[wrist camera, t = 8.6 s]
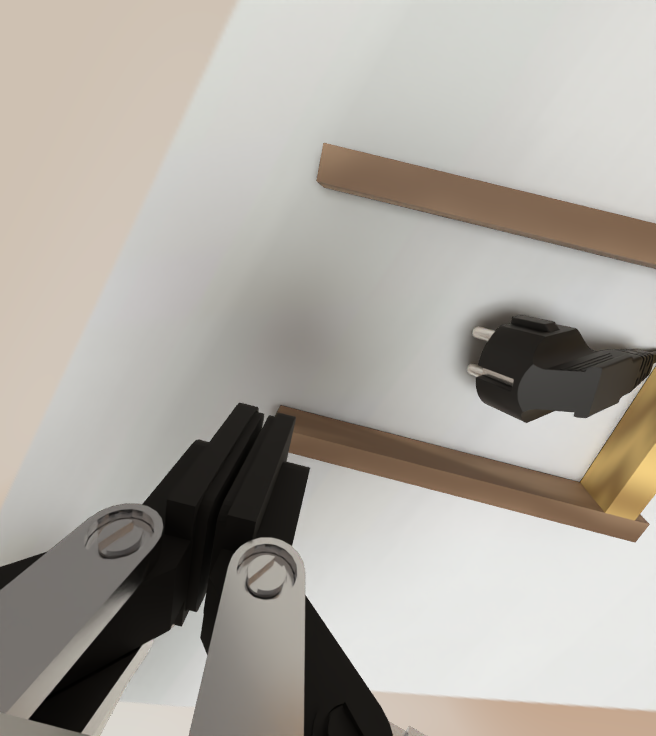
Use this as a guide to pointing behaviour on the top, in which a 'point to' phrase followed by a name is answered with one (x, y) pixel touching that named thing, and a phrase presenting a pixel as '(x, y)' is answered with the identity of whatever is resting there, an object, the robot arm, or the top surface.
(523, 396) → the power plug
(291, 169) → the top surface
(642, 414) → the brown wooden u-shaped frame
